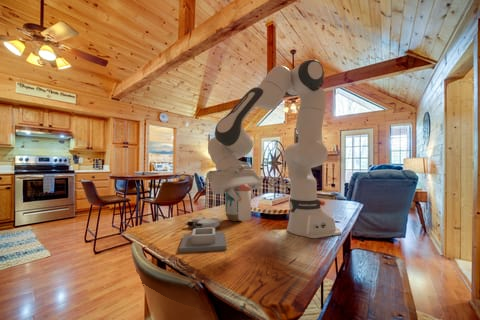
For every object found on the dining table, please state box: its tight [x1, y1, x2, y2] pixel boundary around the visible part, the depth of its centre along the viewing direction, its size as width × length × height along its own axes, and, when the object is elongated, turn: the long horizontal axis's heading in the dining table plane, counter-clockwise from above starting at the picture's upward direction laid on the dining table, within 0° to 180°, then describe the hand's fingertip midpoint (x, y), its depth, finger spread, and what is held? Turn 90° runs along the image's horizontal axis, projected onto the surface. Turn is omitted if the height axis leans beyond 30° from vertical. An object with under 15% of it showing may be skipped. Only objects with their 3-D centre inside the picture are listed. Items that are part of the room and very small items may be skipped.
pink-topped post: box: [238, 184, 252, 222], centre depth 73 cm, size 4×4×12 cm
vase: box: [224, 192, 240, 222], centre depth 108 cm, size 11×11×19 cm
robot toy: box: [184, 216, 224, 229], centre depth 96 cm, size 12×4×15 cm
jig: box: [178, 227, 227, 254], centre depth 79 cm, size 16×14×4 cm
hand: (245, 199), depth 72 cm, fingers closed on pink-topped post, 4 cm apart
